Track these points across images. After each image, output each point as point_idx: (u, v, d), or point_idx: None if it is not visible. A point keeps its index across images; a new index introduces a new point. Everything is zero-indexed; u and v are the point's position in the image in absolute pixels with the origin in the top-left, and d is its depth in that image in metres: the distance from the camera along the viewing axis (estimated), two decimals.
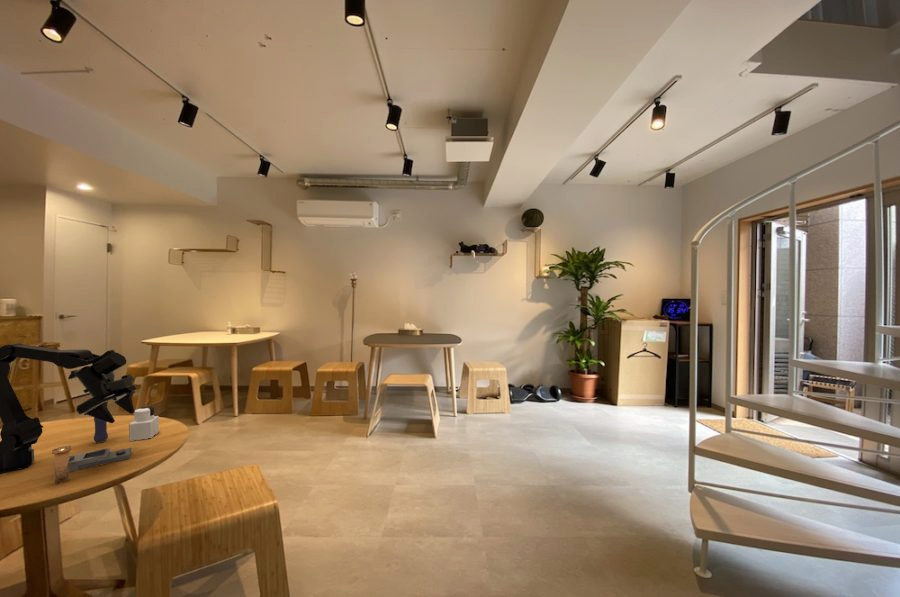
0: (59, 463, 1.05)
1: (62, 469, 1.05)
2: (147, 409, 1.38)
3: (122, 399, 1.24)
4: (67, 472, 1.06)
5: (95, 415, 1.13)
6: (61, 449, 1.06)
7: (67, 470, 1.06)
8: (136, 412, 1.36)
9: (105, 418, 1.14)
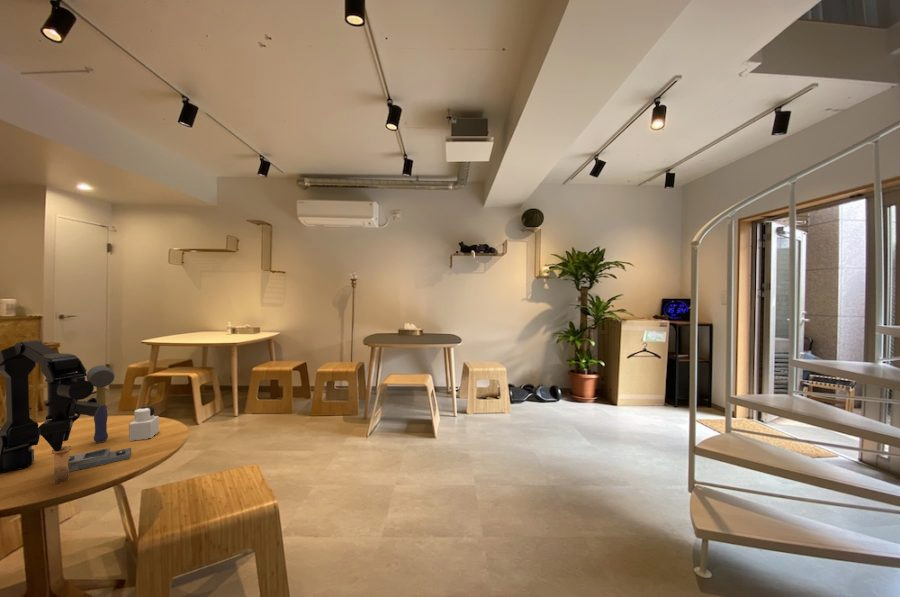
0: (59, 463, 1.05)
1: (62, 469, 1.05)
2: (147, 409, 1.38)
3: None
4: (67, 472, 1.06)
5: (48, 438, 1.00)
6: (61, 449, 1.05)
7: (67, 470, 1.06)
8: (136, 412, 1.36)
9: (55, 444, 1.02)
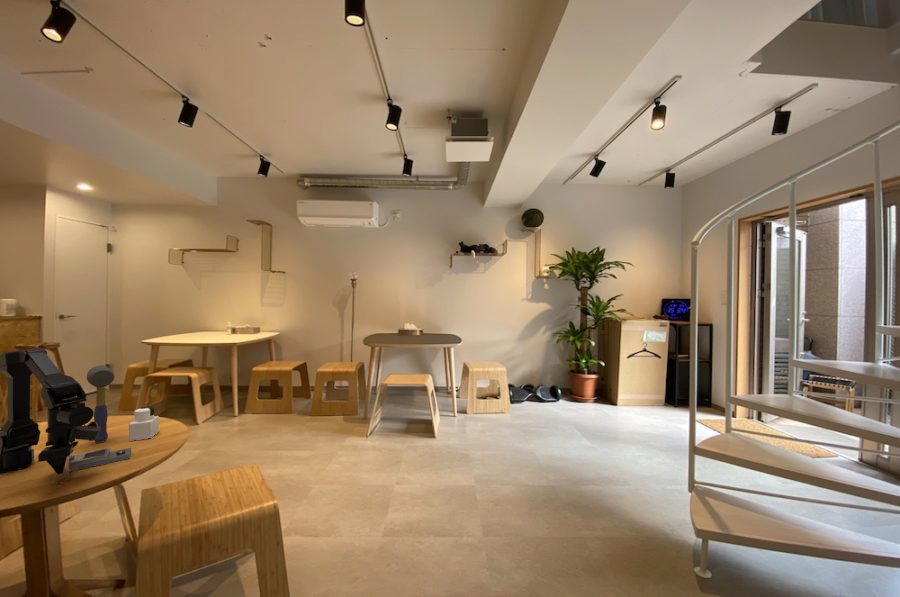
0: None
1: None
2: (147, 409, 1.38)
3: None
4: (67, 472, 1.06)
5: (50, 461, 1.02)
6: None
7: (67, 470, 1.06)
8: (136, 412, 1.36)
9: (57, 466, 1.04)
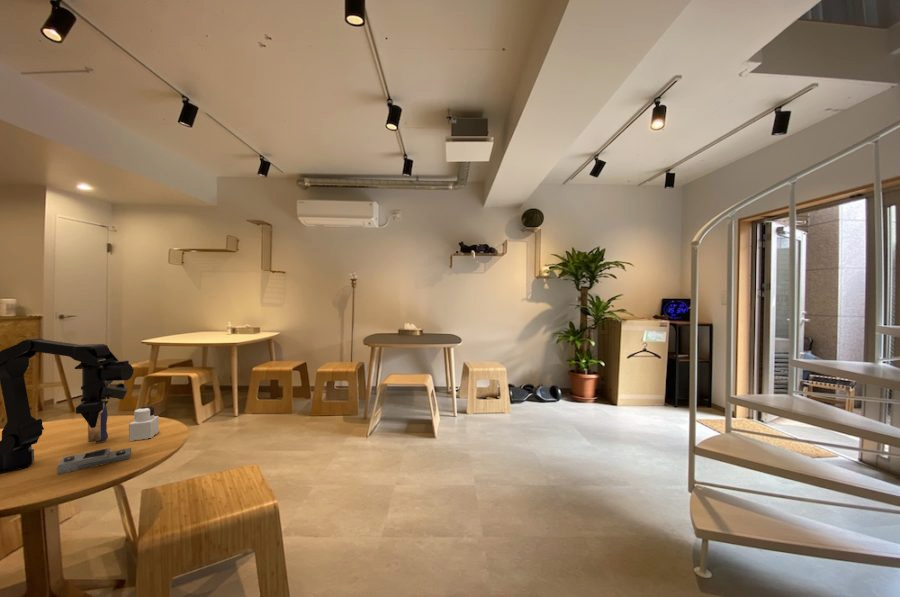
0: None
1: (95, 430, 1.17)
2: (147, 409, 1.38)
3: None
4: (99, 433, 1.18)
5: (85, 415, 1.14)
6: None
7: (99, 431, 1.18)
8: (136, 412, 1.36)
9: (91, 420, 1.15)
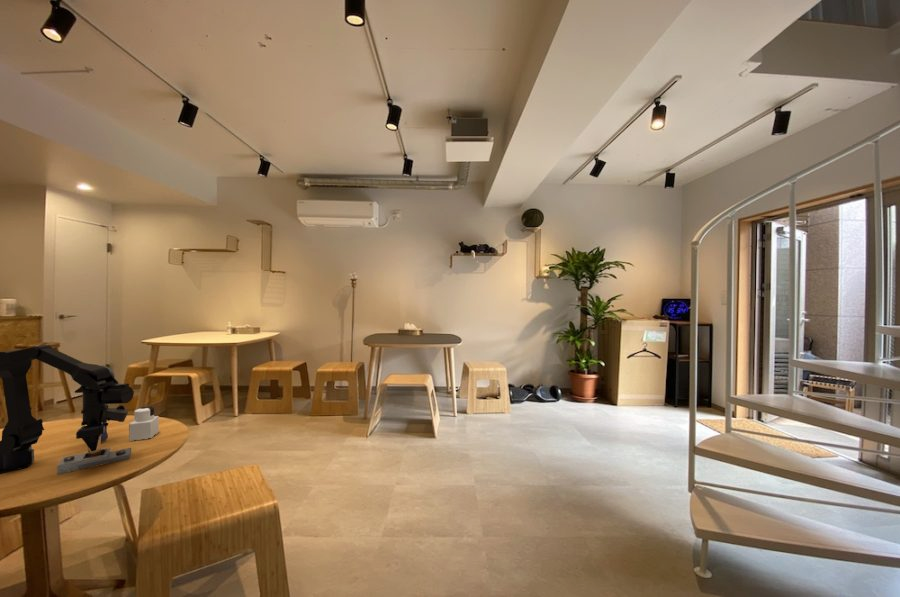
0: None
1: (95, 452, 1.17)
2: (147, 409, 1.38)
3: None
4: (99, 455, 1.18)
5: (86, 439, 1.14)
6: None
7: (99, 453, 1.18)
8: (136, 412, 1.36)
9: (91, 444, 1.15)
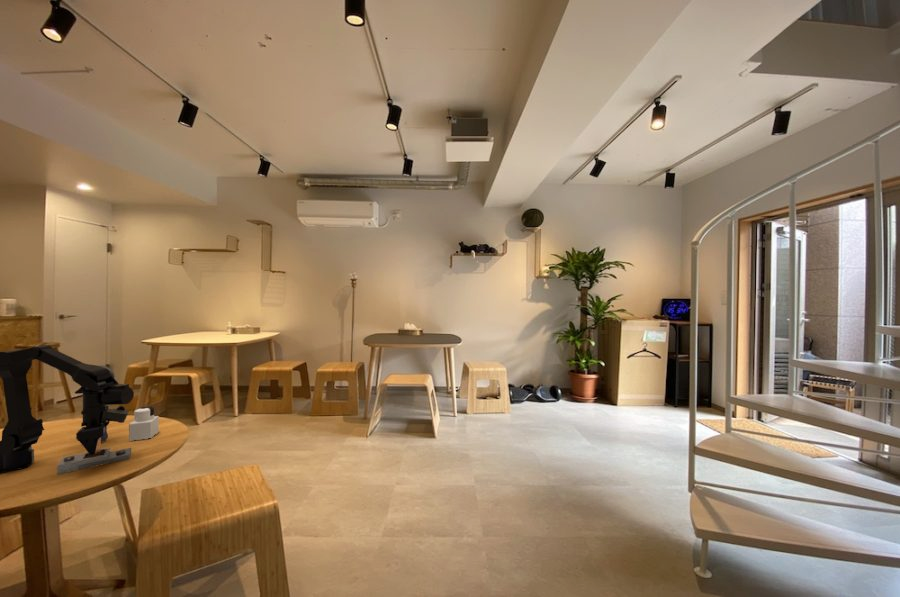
0: None
1: (95, 452, 1.17)
2: (147, 409, 1.38)
3: None
4: (99, 455, 1.18)
5: (84, 443, 1.12)
6: None
7: (99, 453, 1.18)
8: (136, 412, 1.36)
9: (89, 448, 1.13)
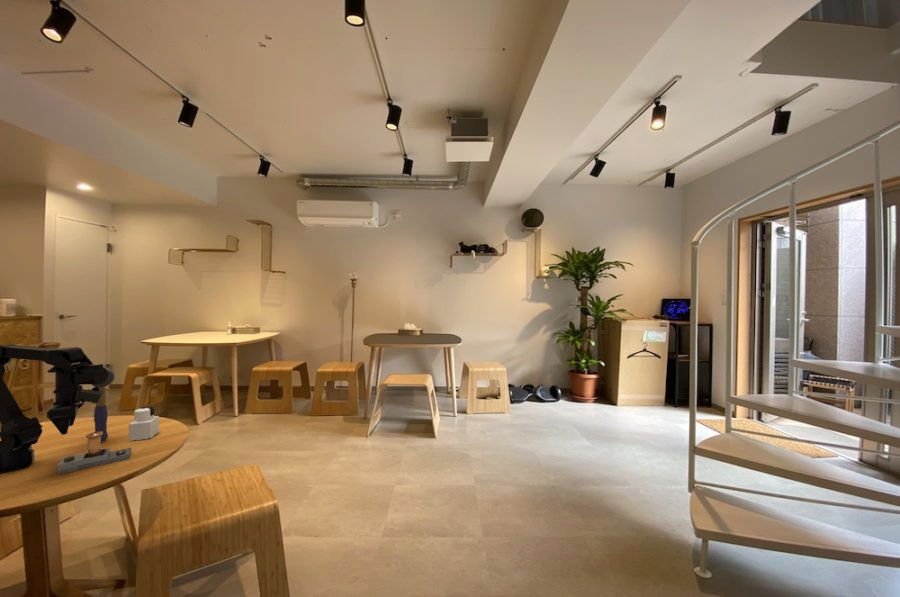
0: (92, 446, 1.16)
1: (95, 452, 1.17)
2: (147, 409, 1.38)
3: None
4: (99, 455, 1.18)
5: (55, 422, 1.10)
6: (94, 434, 1.17)
7: (99, 453, 1.18)
8: (136, 412, 1.36)
9: (61, 427, 1.12)
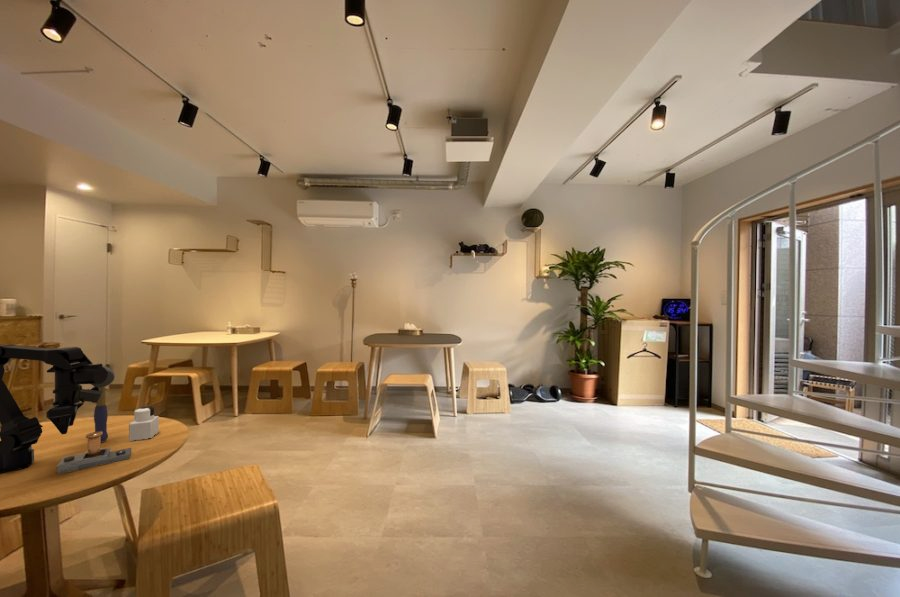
0: (92, 446, 1.16)
1: (95, 452, 1.17)
2: (147, 409, 1.38)
3: None
4: (99, 455, 1.18)
5: (55, 422, 1.10)
6: (94, 434, 1.17)
7: (99, 453, 1.18)
8: (136, 412, 1.36)
9: (61, 427, 1.12)
